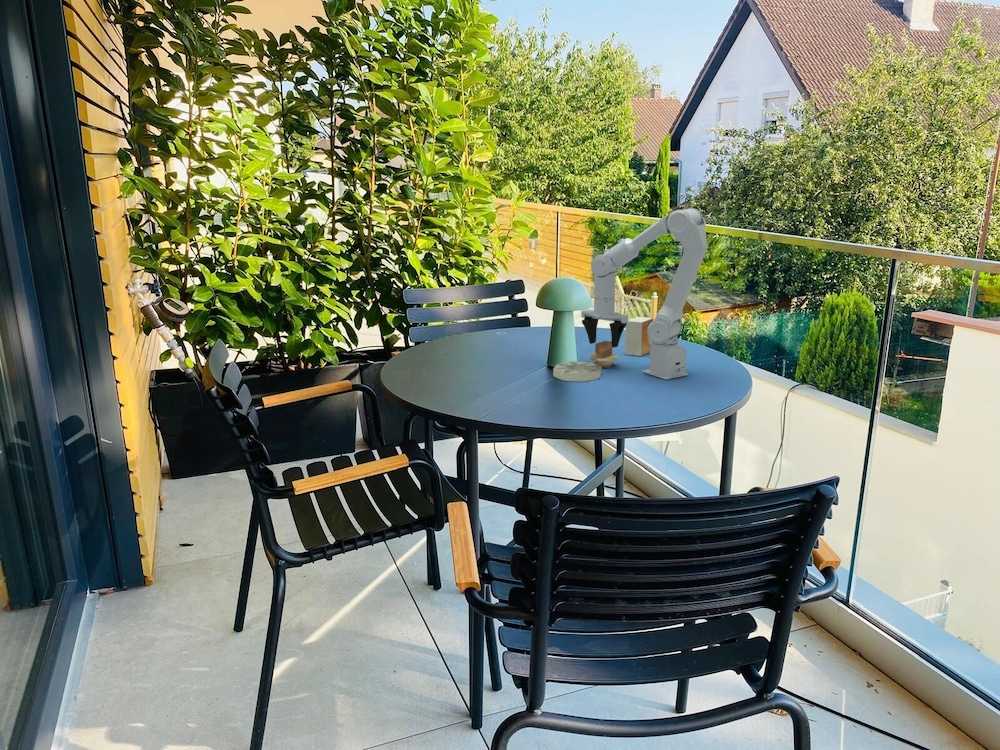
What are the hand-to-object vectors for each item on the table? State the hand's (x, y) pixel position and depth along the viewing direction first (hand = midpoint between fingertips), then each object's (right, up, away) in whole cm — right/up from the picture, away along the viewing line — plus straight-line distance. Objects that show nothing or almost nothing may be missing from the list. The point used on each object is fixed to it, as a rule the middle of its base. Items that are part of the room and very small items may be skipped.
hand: (603, 345), depth 200 cm
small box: (+13, -2, +15) cm, 20 cm away
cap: (0, -6, +2) cm, 6 cm away
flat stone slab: (-8, -9, -7) cm, 14 cm away
